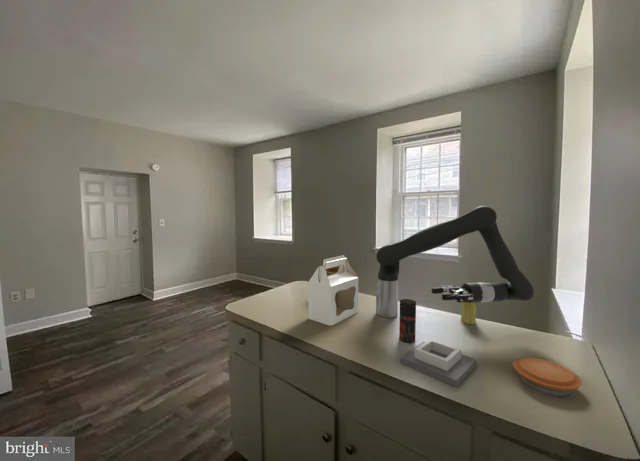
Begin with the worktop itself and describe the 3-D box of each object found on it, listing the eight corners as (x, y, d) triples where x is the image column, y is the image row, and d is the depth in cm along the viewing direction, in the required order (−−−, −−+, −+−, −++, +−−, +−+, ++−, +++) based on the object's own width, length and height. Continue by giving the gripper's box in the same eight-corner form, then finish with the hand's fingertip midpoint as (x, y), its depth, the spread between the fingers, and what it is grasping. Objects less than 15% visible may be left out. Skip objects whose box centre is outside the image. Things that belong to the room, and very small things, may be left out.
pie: (595, 395, 78) (596, 377, 78) (553, 406, 74) (554, 388, 73) (538, 365, 93) (538, 350, 92) (500, 373, 88) (501, 358, 88)
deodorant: (416, 343, 108) (417, 304, 107) (399, 342, 109) (400, 303, 108) (414, 336, 114) (415, 299, 113) (398, 335, 115) (399, 298, 114)
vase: (463, 318, 133) (464, 287, 131) (478, 321, 128) (479, 290, 127) (458, 321, 128) (459, 290, 127) (473, 325, 124) (474, 293, 123)
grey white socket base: (399, 362, 95) (400, 348, 94) (423, 346, 106) (423, 333, 105) (456, 387, 82) (457, 370, 81) (476, 365, 93) (476, 350, 92)
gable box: (330, 326, 124) (330, 262, 122) (307, 319, 133) (307, 258, 130) (358, 312, 141) (359, 255, 139) (337, 306, 149) (337, 252, 147)
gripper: (467, 278, 119) (428, 279, 118) (489, 287, 104) (446, 289, 103) (467, 296, 119) (428, 297, 118) (489, 308, 105) (446, 309, 104)
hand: (436, 293), depth 111 cm, fingers open, 8 cm apart
